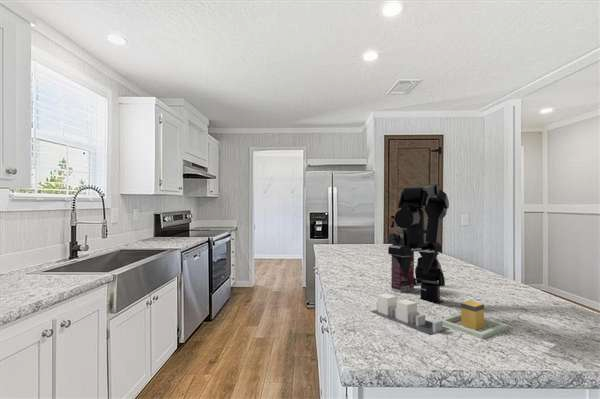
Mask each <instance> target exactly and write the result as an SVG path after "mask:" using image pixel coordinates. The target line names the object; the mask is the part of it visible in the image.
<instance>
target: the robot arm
mask: <svg viewBox="0 0 600 399" xmlns="http://www.w3.org/2000/svg"><path fill="white" fill-rule="evenodd" d="M449 207H450V201H449V198H448V195H447V193H446V192H444V191H443V190H442V189H441V188H440V186H439V184H436V183H435V184H423V185H422V186H408V187H406V186H405V187H404V188H403V190H402V191H401V194H400V197H399V202H398V204H397V208H398V211H397V212H396V213H395V215H394V223H395V225H396V226H398V227H399V228H401V229H402V231H401V233H400V234H396V233H390V234H389V233H388V243H389V244H390V245H389V246H388V248H387V250H388V251H387V252H388V253H387V254H388V255H390V256H391V258H392V257H395V258H396V259H397V261H398V263H399V265H400V268H401V270H402V273H403V276H404V277H405V278H407V277H408V273H409V269H410V264H411V259H412V256H409V255H410V254H411V252H414V253H415V252H418V253H419V255H420V256H419V257H418V258H417V264H416V266H415V267H414V277H415V278H416V284H420V297H419V298H418V299H419V300H423V301H425V302H429V303H433V304H436V305H437V304H440V303H443V302H445V301H444V299H441V287H444V286H446V280H445V278H446V277H445V276H444V272H443V269H442V265H441V263H440V261H439V259H438V255H439V254H440V253H439V252H442V244H440V235H441V234H440V233H441V224H442V223H441V222H442V220H443V218H445V217H446V215H447V212H448V209H449ZM425 214H426V216H427V222H426V224H425ZM425 225H426V229H425Z"/></svg>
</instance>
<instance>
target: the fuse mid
mask: <svg viewBox="0 0 600 399" xmlns="http://www.w3.org/2000/svg"><path fill="white" fill-rule="evenodd" d="M396 309H397V319H399V320H401V321H404V322H407V323H409V322H410V314H411V313H415V312H418V303H417V302H415V301H413V300H409V299H406V298H405V299H402V300H397V301H396Z"/></svg>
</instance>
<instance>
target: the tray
mask: <svg viewBox="0 0 600 399" xmlns="http://www.w3.org/2000/svg"><path fill="white" fill-rule="evenodd" d="M438 320H442V321H443V327H446V328H449V329H452V330H456V331H458V332H461V333H464V334H467V335H470V336H473V337H475V338H477V339H481V340H483V339H486V338H488V337H491V336H493V335H496V334H499V333H502V332H503V331H504V332H505V331H506V330H509V328H510V327H509V324H507V323H504V322H500V321H497V320H493V319H490V318H486V317H484V324H486V325H490V326H493V327H490V328H488V329H485V330H482V331H478V330H474V329H471V328H468V327H465V326H462V325H460V324H457V323H455V321H459V320H461V312H460V313H456V314H453V315H450V316H447V317H443V318H439V319H438Z"/></svg>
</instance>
